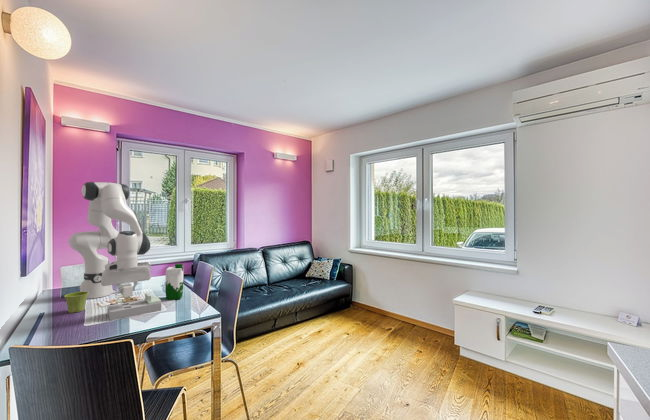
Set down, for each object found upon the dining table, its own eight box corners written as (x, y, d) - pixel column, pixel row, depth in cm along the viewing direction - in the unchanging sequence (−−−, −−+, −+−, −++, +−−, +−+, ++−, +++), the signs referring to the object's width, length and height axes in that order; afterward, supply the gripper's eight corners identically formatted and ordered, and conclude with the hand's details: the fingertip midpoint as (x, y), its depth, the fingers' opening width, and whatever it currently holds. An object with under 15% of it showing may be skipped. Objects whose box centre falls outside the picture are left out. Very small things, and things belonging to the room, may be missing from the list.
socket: (107, 314, 140) (107, 305, 140) (155, 304, 154) (155, 297, 154) (110, 320, 131) (110, 312, 131) (161, 310, 145) (161, 302, 145)
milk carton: (181, 299, 163) (181, 265, 164) (163, 301, 161) (164, 266, 161) (184, 295, 172) (184, 262, 172) (167, 297, 169) (167, 263, 169)
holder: (122, 304, 156) (122, 299, 156) (135, 301, 160) (135, 297, 160) (126, 309, 147) (126, 304, 147) (139, 306, 151) (139, 302, 151)
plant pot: (73, 315, 138) (74, 297, 139) (58, 313, 140) (59, 296, 141) (93, 308, 148) (93, 292, 148) (78, 307, 150) (78, 291, 150)
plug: (120, 297, 142) (121, 284, 142) (129, 296, 145) (129, 283, 145) (123, 301, 136) (123, 287, 136) (132, 300, 138) (132, 286, 138)
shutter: (144, 299, 150) (144, 292, 150) (156, 297, 154) (156, 290, 154) (148, 304, 143) (148, 296, 143) (161, 301, 146) (161, 294, 146)
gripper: (149, 260, 150) (149, 287, 150) (100, 265, 136) (100, 294, 136) (152, 262, 145) (152, 289, 145) (102, 267, 131) (101, 297, 131)
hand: (126, 291), depth 140 cm, fingers closed on plug, 4 cm apart
